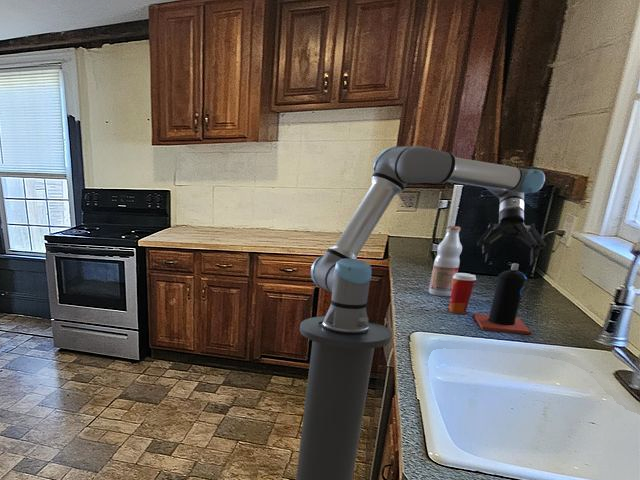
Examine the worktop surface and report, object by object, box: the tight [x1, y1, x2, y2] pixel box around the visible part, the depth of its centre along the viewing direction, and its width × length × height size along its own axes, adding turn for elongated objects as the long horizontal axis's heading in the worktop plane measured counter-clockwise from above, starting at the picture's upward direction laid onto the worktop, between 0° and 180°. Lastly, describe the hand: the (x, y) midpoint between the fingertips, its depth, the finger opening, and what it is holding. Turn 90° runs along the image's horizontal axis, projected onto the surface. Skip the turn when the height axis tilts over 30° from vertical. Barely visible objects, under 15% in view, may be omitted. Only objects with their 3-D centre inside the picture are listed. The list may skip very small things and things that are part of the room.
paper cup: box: [448, 272, 477, 315], centre depth 195 cm, size 8×8×14 cm
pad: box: [473, 313, 532, 336], centre depth 182 cm, size 14×18×1 cm
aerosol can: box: [488, 263, 528, 325], centre depth 178 cm, size 8×8×20 cm
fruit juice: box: [428, 225, 463, 297], centre depth 219 cm, size 9×9×28 cm
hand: (509, 262), depth 182 cm, fingers open, 13 cm apart
